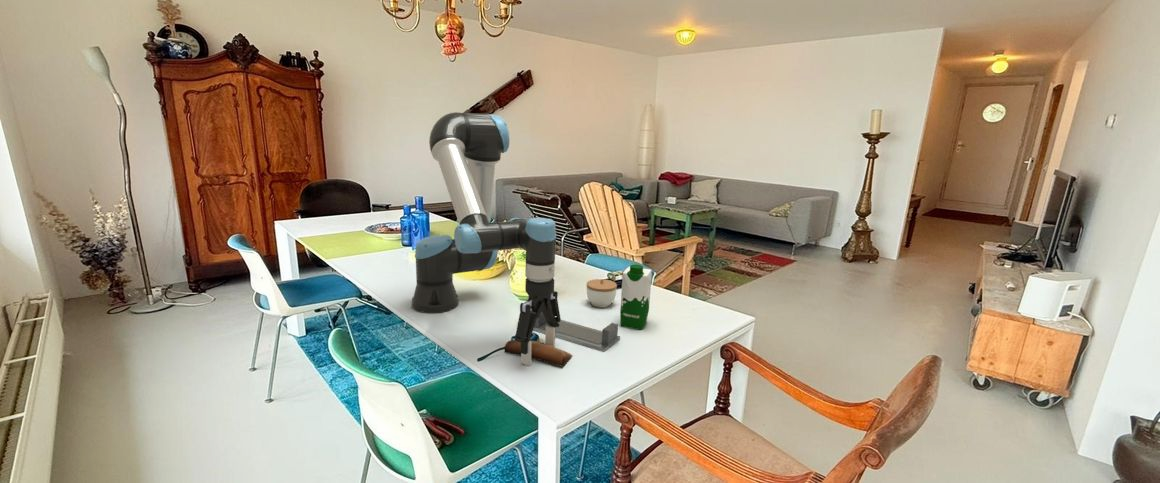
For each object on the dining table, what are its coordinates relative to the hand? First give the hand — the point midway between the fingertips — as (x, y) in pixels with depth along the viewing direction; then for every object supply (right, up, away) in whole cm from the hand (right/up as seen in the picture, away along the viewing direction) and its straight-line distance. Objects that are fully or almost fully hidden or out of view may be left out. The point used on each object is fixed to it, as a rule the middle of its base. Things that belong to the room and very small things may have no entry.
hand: (538, 355), depth 130 cm
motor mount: (+7, +3, +16) cm, 18 cm away
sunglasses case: (0, -1, +1) cm, 2 cm away
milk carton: (+29, +4, +25) cm, 38 cm away
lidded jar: (+19, +8, +40) cm, 45 cm away
